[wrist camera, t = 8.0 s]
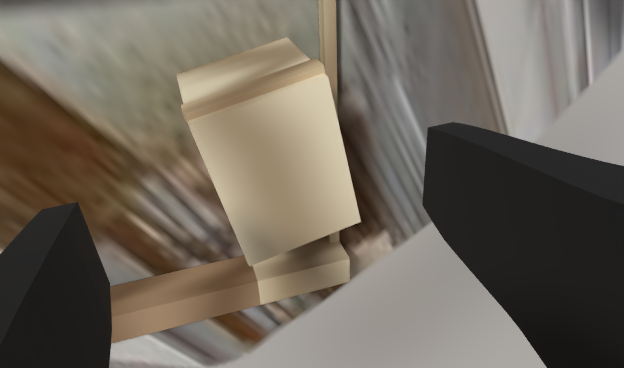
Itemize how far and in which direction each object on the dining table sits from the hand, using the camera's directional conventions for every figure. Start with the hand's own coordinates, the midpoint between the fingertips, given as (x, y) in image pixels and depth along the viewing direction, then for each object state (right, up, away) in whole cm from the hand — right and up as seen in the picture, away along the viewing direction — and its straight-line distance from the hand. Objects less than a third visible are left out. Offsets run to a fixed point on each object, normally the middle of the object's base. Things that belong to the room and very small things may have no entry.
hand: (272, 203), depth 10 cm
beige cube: (-2, +3, +10) cm, 11 cm away
